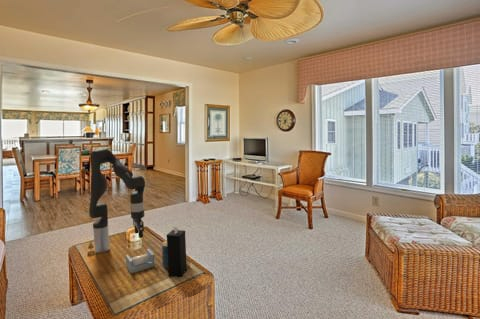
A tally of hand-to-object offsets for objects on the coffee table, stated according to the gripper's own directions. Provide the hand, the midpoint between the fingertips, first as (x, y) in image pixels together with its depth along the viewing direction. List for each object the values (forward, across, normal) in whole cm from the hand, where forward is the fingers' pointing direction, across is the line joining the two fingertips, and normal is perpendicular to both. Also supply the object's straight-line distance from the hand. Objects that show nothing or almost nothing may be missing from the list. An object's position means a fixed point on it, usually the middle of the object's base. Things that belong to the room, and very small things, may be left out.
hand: (138, 235), depth 158 cm
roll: (+18, +2, 0) cm, 18 cm away
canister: (+20, +10, +17) cm, 28 cm away
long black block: (+20, +22, +15) cm, 33 cm away
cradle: (+20, 0, 0) cm, 20 cm away
